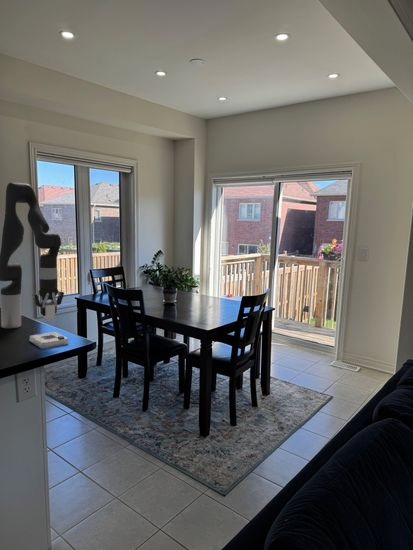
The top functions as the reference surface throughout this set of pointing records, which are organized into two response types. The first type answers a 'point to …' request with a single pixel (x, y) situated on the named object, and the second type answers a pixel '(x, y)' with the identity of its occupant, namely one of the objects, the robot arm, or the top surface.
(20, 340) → the top surface
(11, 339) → the top surface
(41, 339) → the socket
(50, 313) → the plug
